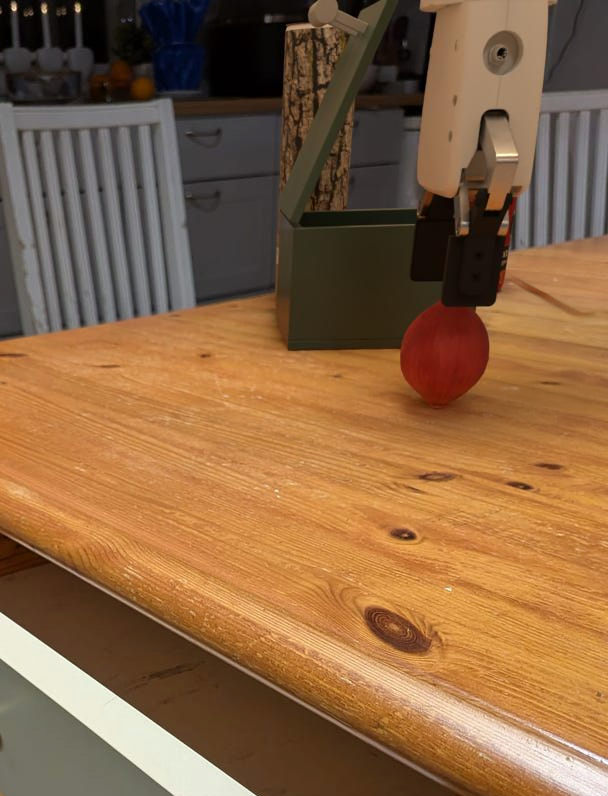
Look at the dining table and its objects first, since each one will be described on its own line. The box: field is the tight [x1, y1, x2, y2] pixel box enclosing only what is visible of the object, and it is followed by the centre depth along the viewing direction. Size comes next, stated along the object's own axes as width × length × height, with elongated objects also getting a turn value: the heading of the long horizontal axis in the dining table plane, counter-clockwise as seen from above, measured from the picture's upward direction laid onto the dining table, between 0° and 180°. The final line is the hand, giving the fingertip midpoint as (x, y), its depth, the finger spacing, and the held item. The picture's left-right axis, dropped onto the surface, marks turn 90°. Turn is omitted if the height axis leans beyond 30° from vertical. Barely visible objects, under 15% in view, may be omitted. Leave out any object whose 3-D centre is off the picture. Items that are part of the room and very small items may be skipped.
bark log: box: [274, 21, 356, 303], centre depth 95 cm, size 7×7×25 cm
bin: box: [275, 207, 477, 351], centre depth 86 cm, size 16×14×10 cm
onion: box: [399, 300, 490, 409], centre depth 65 cm, size 6×6×8 cm
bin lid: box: [276, 0, 399, 224], centre depth 80 cm, size 16×14×5 cm
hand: (448, 292), depth 63 cm, fingers open, 9 cm apart
